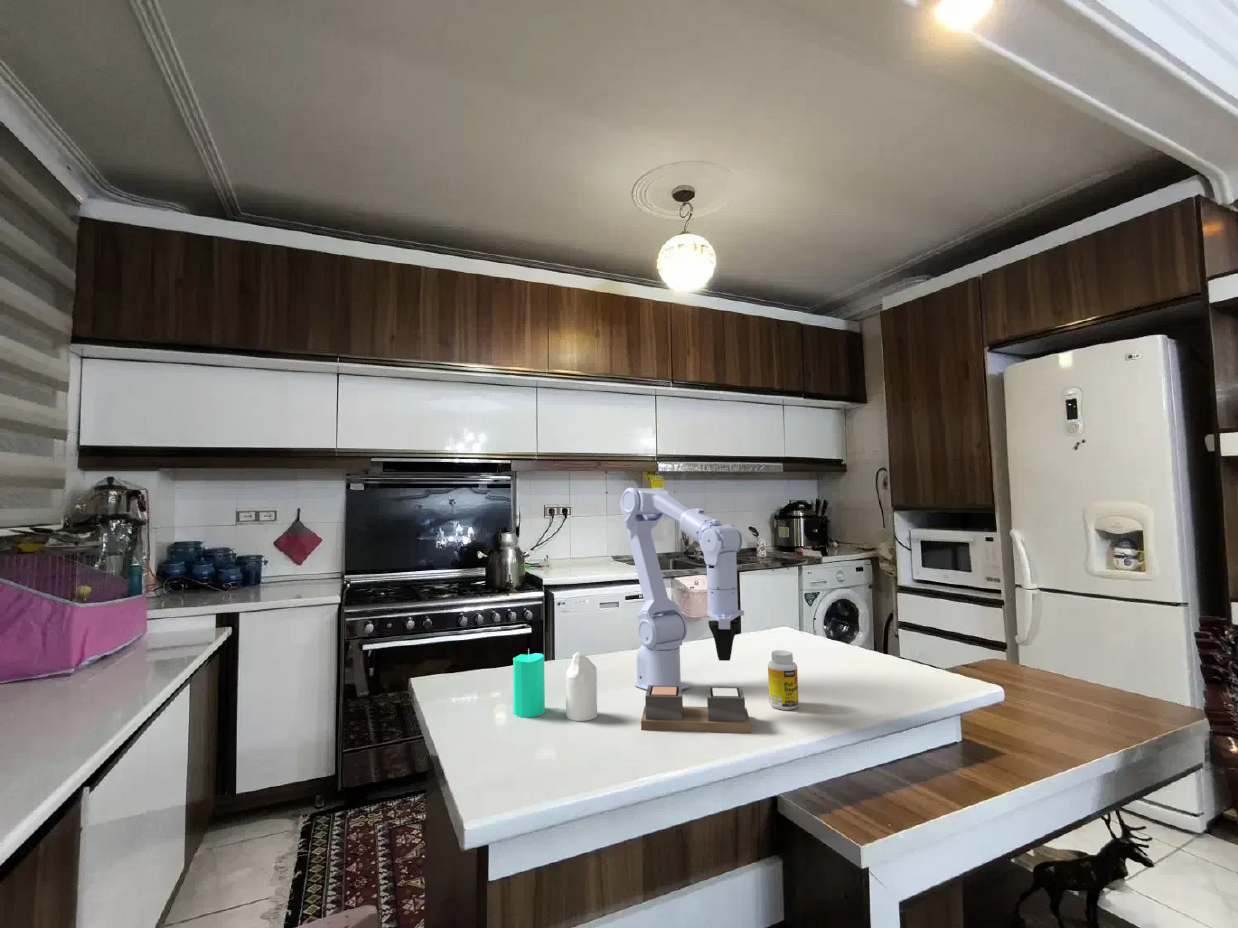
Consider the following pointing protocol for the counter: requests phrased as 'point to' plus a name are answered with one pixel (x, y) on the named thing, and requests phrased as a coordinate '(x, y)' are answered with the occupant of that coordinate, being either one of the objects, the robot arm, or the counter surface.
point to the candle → (528, 685)
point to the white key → (725, 692)
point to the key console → (695, 713)
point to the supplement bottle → (783, 681)
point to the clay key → (664, 691)
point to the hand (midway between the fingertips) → (724, 659)
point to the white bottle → (581, 689)
